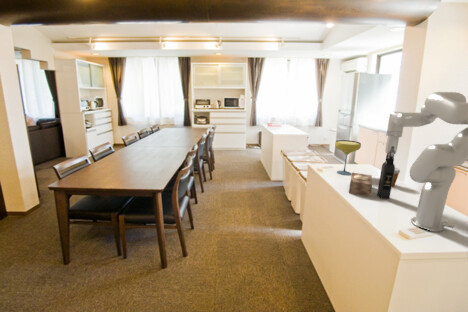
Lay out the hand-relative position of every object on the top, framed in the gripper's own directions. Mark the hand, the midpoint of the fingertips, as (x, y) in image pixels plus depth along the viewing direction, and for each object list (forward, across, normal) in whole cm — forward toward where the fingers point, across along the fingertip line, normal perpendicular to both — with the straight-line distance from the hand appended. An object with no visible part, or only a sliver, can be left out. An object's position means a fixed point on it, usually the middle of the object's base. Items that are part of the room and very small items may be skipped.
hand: (389, 163), depth 146 cm
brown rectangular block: (+22, -7, -13) cm, 26 cm away
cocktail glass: (+22, -40, -25) cm, 52 cm away
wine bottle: (+22, 0, 0) cm, 22 cm away
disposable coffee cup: (+22, -27, +5) cm, 35 cm away
